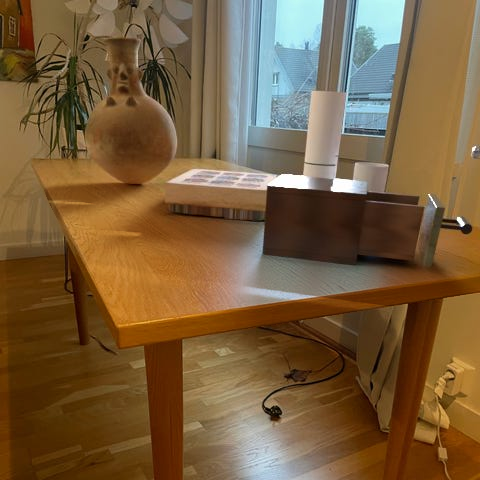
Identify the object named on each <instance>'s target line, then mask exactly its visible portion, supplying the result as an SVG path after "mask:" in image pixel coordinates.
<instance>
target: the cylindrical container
mask: <svg viewBox="0 0 480 480" xmlns="http://www.w3.org/2000/svg"><path fill="white" fill-rule="evenodd" d="M346 100H347V92H346V91H345V92H344V91H331V90H330V91H329V90H311V94H310V104H309V111H308V112H309V113H308V121H307V122H308V125H307V132H306V133H307V134H306V145H305V151H304V152H305V154H304V164H303V174H302V176H306V177H317V178H329V179H337V178H336V176H337V169H338V163H339V154H340V146H341V138H342V131H343V130H342V129H343V123H344V115H345V108H346V107H345V106H346Z"/></svg>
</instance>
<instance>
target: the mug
mask: <svg viewBox="0 0 480 480" xmlns="http://www.w3.org/2000/svg"><path fill="white" fill-rule="evenodd" d="M389 169H390V165H389V164H386V163H379V162H370V161H369V162H368V161H360V162H359V161H358V162H355V163H354V169H353V175H352V176H353V177H352V181H364V182H368V188H367V191H373V192H384V193H385V190H386V186H387V179H388V175H389Z"/></svg>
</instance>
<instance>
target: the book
mask: <svg viewBox="0 0 480 480" xmlns="http://www.w3.org/2000/svg"><path fill="white" fill-rule="evenodd" d="M278 177H279V174H274V173H263V172H262V173H261V172H248V171H232V170H220V169H219V170H218V169H204V168H191V169H189V170H187V171H185V172H183V173H182V174H179V175H177V176H176V177H173V178H172V179H170V180H167V181H165V182H164V204H168V210H169V212H173V213H180V214H188V215H191V216H192V215H198V216H205V217H216V218H224V219H226V220H227V219H228V220H230V219H231V220H240V221H241V220H243V221H244V220H247V221H254V222H256V221H259V222H261V221H263V220H264V221H265V210H266V195H267V185H269V184H270V183H271V182H273V181H274V180H275V179H277V178H278Z"/></svg>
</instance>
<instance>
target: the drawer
mask: <svg viewBox="0 0 480 480" xmlns="http://www.w3.org/2000/svg"><path fill="white" fill-rule="evenodd" d="M419 201H420V195H415V194H404V193H395V192H394V193H393V192H385V191H384V192H373V191H367V196H366V203H365V209H364V215H363V222H362V228H361V234H360V241H359V247H358V253H357V255H361V256H367V257H368V256H369V257H377V258H386V259H395V260H403V261H414V259H415V255H416V250H417V249H418V252H419V256H420V258H421V263H422V266H423V267H427V268H428V267H429V268H432V267H433V263H434V259H435V254H436V249H437V245H438V242H439V241H438V240H439V237H440V232H441V229H444V230H446V229H447V230H454V231H455V230H456V231H460V232H461V234H463V235H469V234H471V233H472V231H473V225H471V223H470V222H469V221H468V220H467V218H466V217H465V216H458V217H457V218H456V219H455V218H446V217H444V215H445V210H446V207H445V206H444V203H442V201H441V200H440V198H439V197H438V195H437V194H436V193H428V195H427V200H426V204H425V206H424V205H419V203H420V202H419Z"/></svg>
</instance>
